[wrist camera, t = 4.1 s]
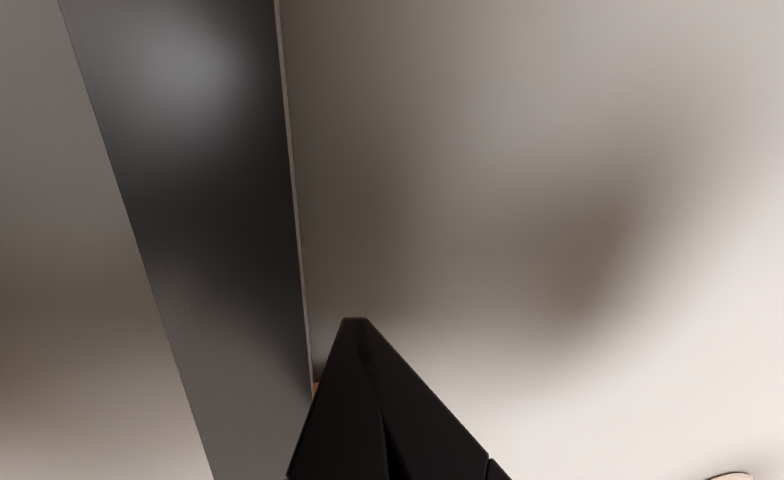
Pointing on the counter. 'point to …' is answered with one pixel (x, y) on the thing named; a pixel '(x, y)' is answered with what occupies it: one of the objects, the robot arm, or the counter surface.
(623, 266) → the counter surface
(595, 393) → the counter surface
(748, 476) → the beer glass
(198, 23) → the bar
